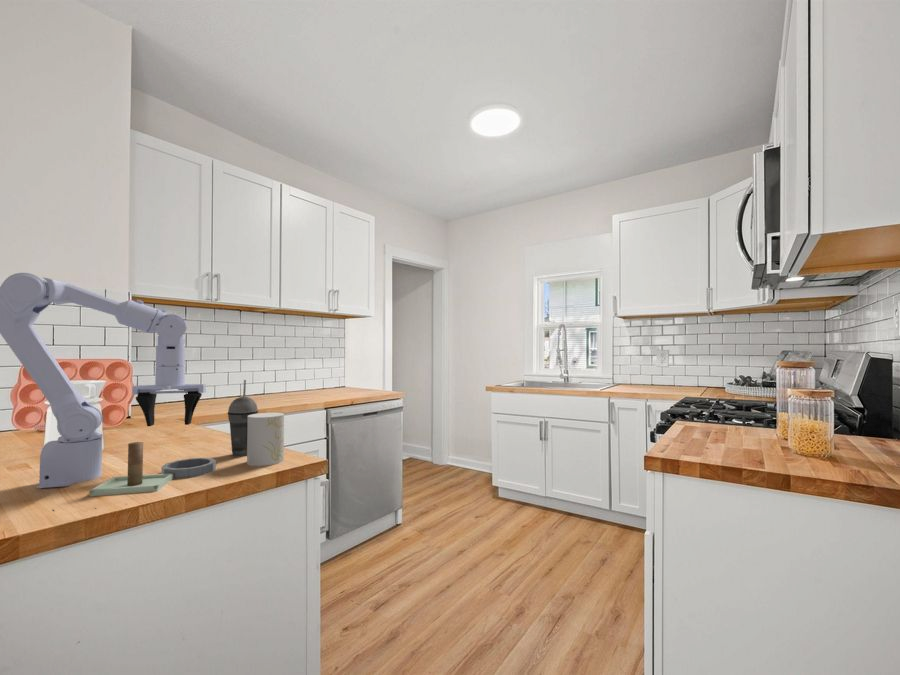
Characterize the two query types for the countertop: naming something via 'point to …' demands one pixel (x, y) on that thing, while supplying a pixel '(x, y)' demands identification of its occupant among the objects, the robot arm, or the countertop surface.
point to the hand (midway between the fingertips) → (169, 424)
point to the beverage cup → (240, 422)
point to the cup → (265, 439)
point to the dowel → (135, 463)
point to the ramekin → (189, 467)
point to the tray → (120, 486)
